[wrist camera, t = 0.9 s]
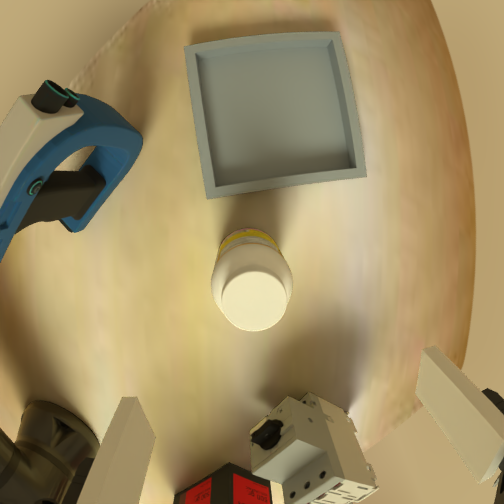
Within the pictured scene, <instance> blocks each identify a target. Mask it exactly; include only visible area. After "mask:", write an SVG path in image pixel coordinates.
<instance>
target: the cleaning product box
mask: <svg viewBox="0 0 504 504" xmlns="http://www.w3.org/2000/svg"><path fill="white" fill-rule="evenodd" d="M173 504H273V503H272V494H271V485H270V480H267V479H264V478H262V477H259V476H256V475H253V474H252V472H250V471H247V470H245V469H243V468H241V467H238V466H236V465H234V464H232V463H230V462H229V463H227V464H226V465H224V466H223V467H221V468H220V469H218V470H217V471H215V472H213V473H212V474H210V475H209V476H207V477H205V478H204V479H202V480H201V481H199V482H197V483H195V484H194V485H192V486H190V487H189V488H187V489H185V490H183V491H182V492H180V493H178V494H176V495H175V496H174V502H173Z"/></svg>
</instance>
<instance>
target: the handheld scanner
mask: <svg viewBox="0 0 504 504" xmlns="http://www.w3.org/2000/svg"><path fill="white" fill-rule="evenodd" d="M142 145H143V138H142V136H141V134H140V133H139V132H138V131H137V130H136V129H135V128H134V127H133V126H132V125H131V124H130V123H128V122H127V121H126V120H125V119H124V118H123V117H122V116H121V115H120V114H119V113H118V112H117V111H116V110H115V109H113V108H112V107H111V106H109V105H107V104H106V103H104V102H102V101H100V100H98V99H95V98H93V97H90V96H87V95H83V94H77V93H74V92H73V91H72V90H70V89H68V88H66V89H65V90H64V89H62V88H61V87H60V86H59V85H57V84H56V83H54V82H52V81H50V80H45V81H44V83H43V84H42V85H41V87H40V88H39V89H38V91H37V92H36V94H30V95H23V96H20V97H19V98H18V99H17V101H16V102H15V104H14V105H13V107H12V108H11V110H10V112H9V113H8V115H7V116H6V118H5V120H4V121H3V123H2V125H1V126H0V262H1V260H2V258H3V256H4V254H5V252H6V250H7V248H8V246H9V244H10V242H11V240H12V238H13V236H14V234H16V233H18V232H19V231H21V230H22V229H24V228H25V227H27V226H29V225H31V224H34V223H36V222H41V221H44V222H50V221H55V220H59V221H60V222H61V223H62V224H63V225H64V227H65V228H66V229H67V230H68V231H70V232H74V233H76V232H79V231H81V230H83V229H84V228H85V227H86V226H87V224H88V223H89V222H90V220H91V219H92V217H93V216H94V215H95V213H96V212H97V211H98V209H99V208H100V207H101V206H102V204H103V203H104V202H105V200H106V199H107V198H108V197H109V195H110V194H111V193H112V192H113V190H114V189H115V188H116V187H117V185H118V184H119V183H120V182H121V180H122V179H123V178H124V177H125V175H126V174H127V173H128V171H129V170H130V169H131V167H132V166H133V164H134V162H135V161H136V159H137V157H138V155H139V153H140V151H141V148H142ZM86 146H96V148H95V149H94V151H93V152H92V153H91V155H90V156H89V157H88V159H87V160H86V161H85V163H84V164H83V165H82V167H81V168H80V169H79V171H54V170H55V168H56V167H57V166H58V165H59V164H60V163H61V162H62V161H64V160H65V159H66V158H67V157H68V156H70V155H71V154H72V153H74V152H75V151H77V150H79V149H81V148H83V147H86Z"/></svg>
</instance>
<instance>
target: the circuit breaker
mask: <svg viewBox="0 0 504 504" xmlns="http://www.w3.org/2000/svg"><path fill="white" fill-rule="evenodd" d="M270 413H271V414H270V415H269V416H268V415H267V416H266V417H265V418H264V419H262V420H261V421H260V422H259V423H258V424H257V425H256V426H255V427H254V428H252V429H251V430H250V450H251V469H252V474H253V475H256V476H259V477H262V478H264V479H267V480H270V481H273V482H276V483H279V484H282V489H283V496H284V503H285V504H353V503H352V502H360V501H361V500H363V499H365V498H366V497H368V496H369V495H371V494H372V493H374V492H375V491H376V490H378V489H379V488H380V487H379V486H377V487H376V484H375V480H377V478H376V475H375V473H374V470H373V468H372V466H371V464H368V463H366V460H365V458H364V456H363V453H362V451H361V448H360V446H359V443H358V441H357V439H356V436H355V434H357V430H356V428H355V426H354V423H353V421H352V419H351V418H349V417H348V414H349V412H347V411H346V412H345V413H344V411H343V409H341V408H339V407H338V406H336V405H334V404H332V403H330V402H328V401H326V400H324V399H322V398H320V397H318V396H316V395H315V394H313V393H311V392H308V393H307V394H306V395H305V396H304V397H303V398H302V399H301V400H300V401H298V400H296V399H294V398H292V397H290V396H287V397H286V398H285V399H284V400H283V401H282V402H281V403H280V404H279V405H278V406H277V407H276V408H274V409H273V410H272V411H271V412H270ZM348 421H349V422H348ZM367 469H369V470H370V471H369V470H367ZM364 494H365V495H364Z"/></svg>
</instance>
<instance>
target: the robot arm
mask: <svg viewBox="0 0 504 504" xmlns="http://www.w3.org/2000/svg"><path fill="white" fill-rule="evenodd" d="M415 394H416V395H417V397H418V398H419V399H420V401H421V402H422V404H423V405H424V406H425V408H426V409H427V410H428V412H429V413H430V415H431V416H432V417H433V419H434V420H435V422H436V423H437V424H438V426H439V427H440V428H441V430H442V431H443V433H444V434H445V436H446V437H447V438H448V440H449V441H450V443H451V444H452V446H453V447H454V449H455V450H456V451H457V453H458V454H459V455H460V457H461V459H462V460H463V462H464V463H465V465H466V466H467V468H468V469H469V470H470V472H471V473H472V475H473V476H474V478H475V479H476V481H477V483H478V484H480V483H482V482H483V481H485V480H487V479H488V478H490V477H492V476H493V474H494V473H495V472H496V470H497V468H498V467H499V468H500V470H501V471H502V472H501V473H500V475H499V477H498V478H497V480H496V481H495V483H494V485H493V487H495V486H496V485H497V483H498V487H497V492H496V498H495V502H494V504H504V399H503V398H502V397H501V396H500V395H499V394H498V393H497V392H494V391H492V390H490V389H488V388H487V389H485V390H483V391H480V390H479V389H478V388H477V386H476V385H475V384H473V382H472V381H471V380H470V379H468V377H467V376H466V375H465V374H464V373H463V372H462V371H461V370H460V369H459V368H458V367H457V366H456V365H455V364H454V363H453V362H452V361H451V360H450V359H449V358H448V357H447V356H446V355H444V354H443V353H442V352H441V351H440V350H439V349H438V348H437V347H436V346H435V345H434V346H431V347H428V348H425V349H422V353H421V361H420V368H419V375H418V381H417V387H416V393H415ZM155 438H156V437H155V435H154V433H153V431H152V429H151V427H150V425H149V422H148V420H147V418H146V416H145V414H144V412H143V409H142V407H141V405H140V403H139V400H138V398H137V397H122V399H121V401H120V403H119V405H118V408H117V410H116V412H115V414H114V416H113V419H112V421H111V423H110V425H109V427H108V430H107V432H106V434H105V436H104V439H103V441H102V443H101V446H99V443H98V441H97V439H96V437H95V435H94V434H93V433H92V431H91V430H90V429H89V428H88V427H87V426H86V425H85V424H84V423H83V422H82V421H81V420H80V419H78V418H77V417H76V416H75V415H73V414H72V413H70V412H69V411H67V410H65V409H64V408H62V407H60V406H58V405H55V404H53V403H50V402H46V401H34V402H32V403H30V404H29V405H28V406H27V408H26V409H25V410H24V412H23V414H22V417H21V424H20V428H19V431H18V436H17V439H16V441H15V443H13V442H12V441H11V439H10V438H9V437H8V436H7V435H6V434H5V433H4V431H3V430H2V429H1V428H0V504H139V500H140V496H141V492H142V488H143V484H144V480H145V476H146V472H147V468H148V464H149V461H150V457H151V453H152V449H153V446H154V442H155Z"/></svg>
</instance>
